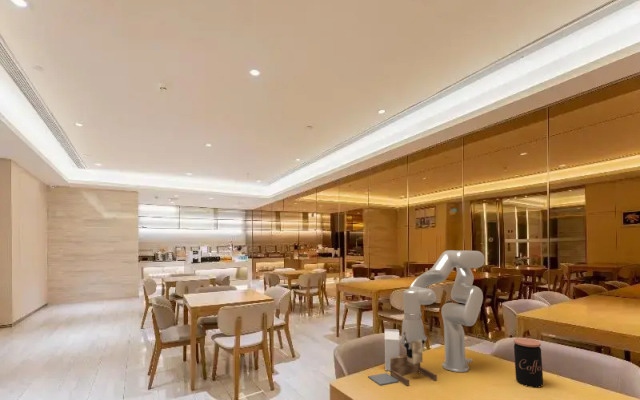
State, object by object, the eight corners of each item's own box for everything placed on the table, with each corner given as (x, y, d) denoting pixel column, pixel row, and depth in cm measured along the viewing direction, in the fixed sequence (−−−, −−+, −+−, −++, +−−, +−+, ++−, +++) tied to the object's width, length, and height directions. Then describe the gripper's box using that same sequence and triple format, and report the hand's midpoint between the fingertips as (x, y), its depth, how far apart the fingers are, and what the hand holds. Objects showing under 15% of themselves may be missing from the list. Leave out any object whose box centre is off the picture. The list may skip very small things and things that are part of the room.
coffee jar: (518, 385, 153) (515, 343, 155) (513, 377, 163) (511, 337, 165) (546, 389, 149) (543, 346, 151) (540, 380, 159) (537, 339, 161)
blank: (415, 358, 165) (414, 337, 166) (422, 362, 161) (421, 340, 162) (407, 360, 163) (406, 338, 164) (414, 364, 159) (412, 341, 160)
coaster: (386, 374, 165) (386, 373, 165) (398, 382, 156) (398, 380, 156) (368, 377, 161) (368, 376, 162) (379, 385, 152) (379, 384, 152)
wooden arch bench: (418, 371, 170) (418, 353, 171) (436, 380, 158) (436, 362, 159) (390, 375, 163) (390, 358, 164) (407, 386, 152) (406, 367, 153)
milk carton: (400, 372, 168) (399, 331, 171) (385, 370, 170) (384, 330, 172) (399, 366, 175) (398, 327, 178) (385, 365, 177) (384, 327, 179)
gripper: (421, 312, 171) (424, 351, 169) (392, 317, 164) (394, 356, 162) (432, 315, 164) (434, 355, 162) (402, 320, 157) (404, 362, 155)
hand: (414, 356), depth 162 cm, fingers closed on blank, 5 cm apart
